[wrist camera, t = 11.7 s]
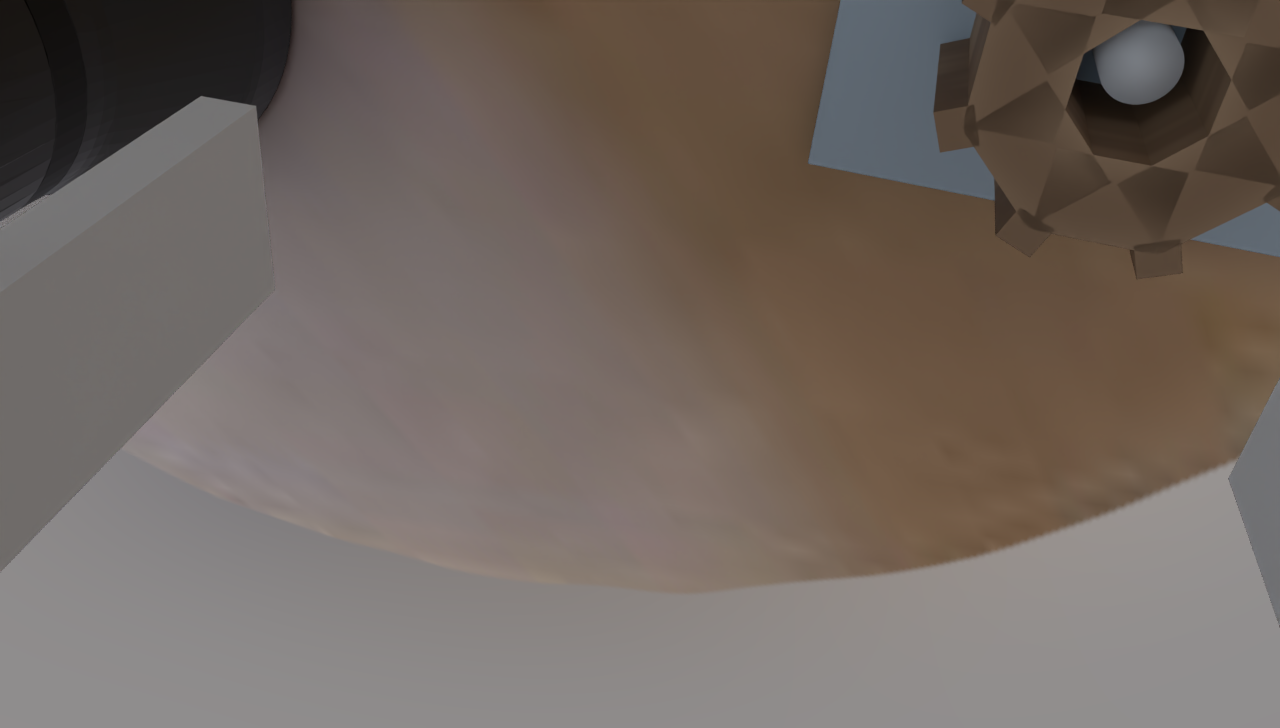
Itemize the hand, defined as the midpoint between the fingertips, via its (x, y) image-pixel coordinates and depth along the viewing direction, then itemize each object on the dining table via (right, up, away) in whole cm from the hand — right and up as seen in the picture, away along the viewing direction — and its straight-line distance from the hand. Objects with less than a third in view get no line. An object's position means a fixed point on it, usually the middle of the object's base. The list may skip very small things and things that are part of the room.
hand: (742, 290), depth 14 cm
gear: (+12, +9, +18) cm, 23 cm away
